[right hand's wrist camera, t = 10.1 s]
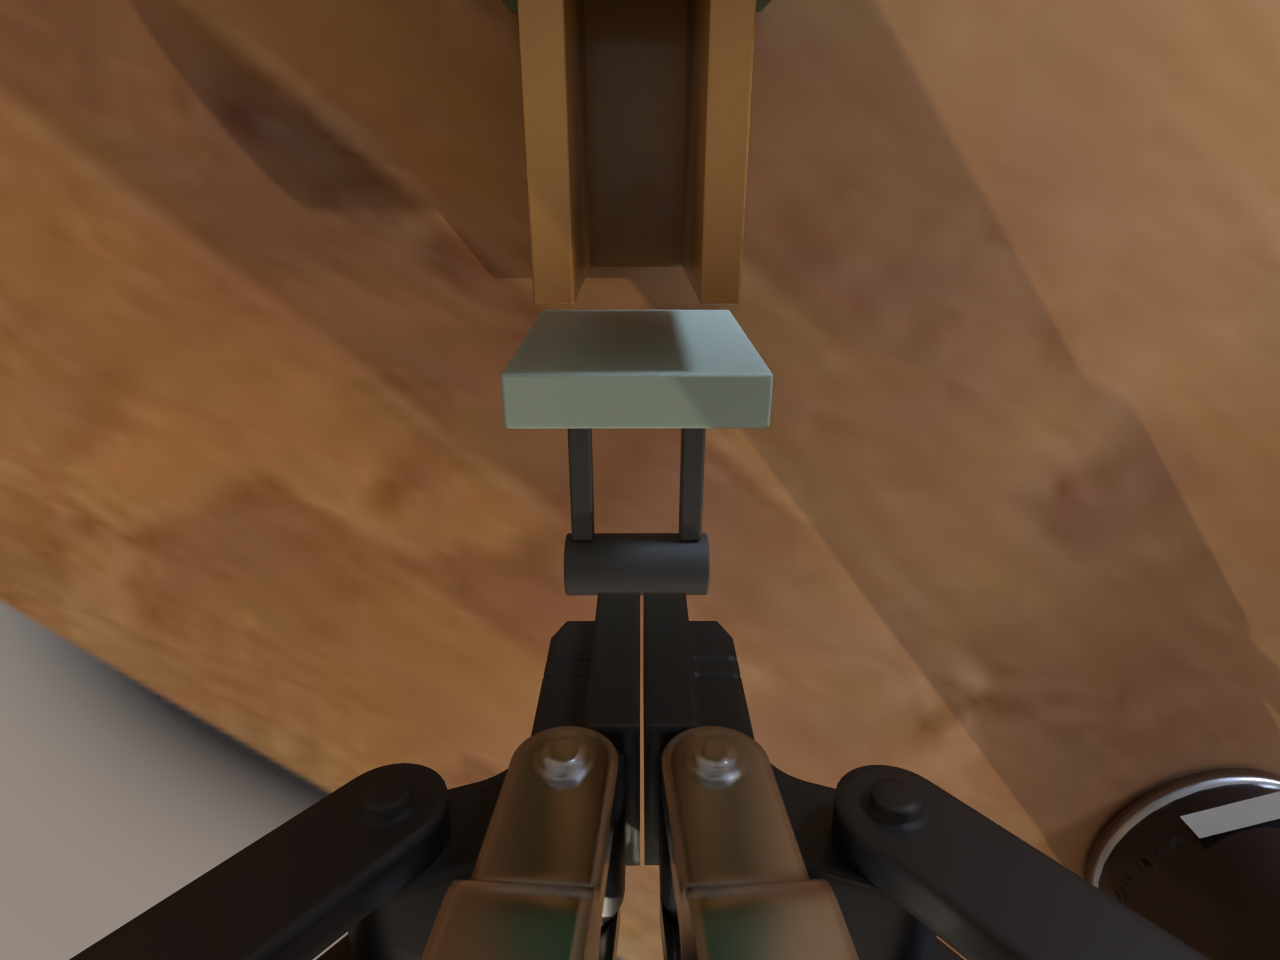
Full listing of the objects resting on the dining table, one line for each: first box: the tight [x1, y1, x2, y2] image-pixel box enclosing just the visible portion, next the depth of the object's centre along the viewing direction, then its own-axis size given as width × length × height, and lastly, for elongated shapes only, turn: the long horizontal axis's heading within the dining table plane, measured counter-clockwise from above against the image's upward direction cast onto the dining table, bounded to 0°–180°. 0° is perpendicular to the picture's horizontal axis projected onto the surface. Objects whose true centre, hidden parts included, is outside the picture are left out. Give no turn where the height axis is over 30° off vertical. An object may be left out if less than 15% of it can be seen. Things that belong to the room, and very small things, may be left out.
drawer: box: [501, 0, 773, 595], centre depth 16 cm, size 26×6×7 cm, turn 0°
